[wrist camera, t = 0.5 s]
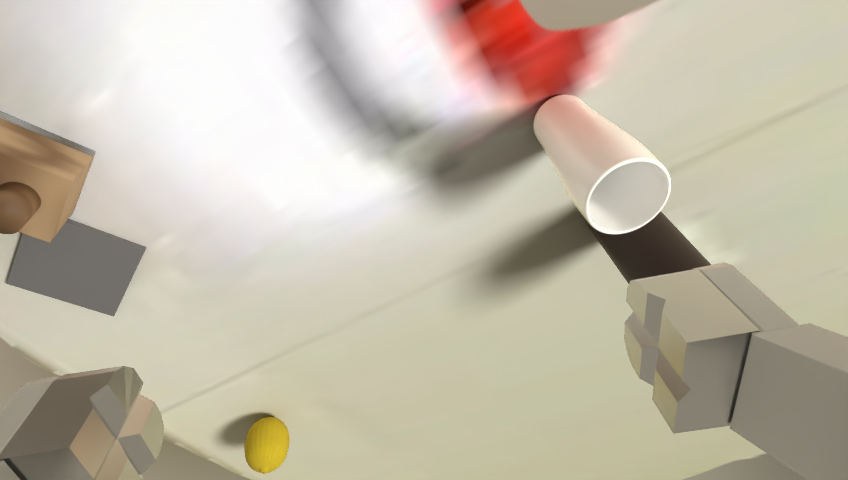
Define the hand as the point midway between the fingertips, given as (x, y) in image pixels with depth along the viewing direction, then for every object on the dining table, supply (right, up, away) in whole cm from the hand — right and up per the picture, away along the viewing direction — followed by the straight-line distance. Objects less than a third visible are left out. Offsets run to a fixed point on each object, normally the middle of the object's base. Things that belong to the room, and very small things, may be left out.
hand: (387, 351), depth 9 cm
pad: (-34, -1, +44) cm, 56 cm away
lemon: (-20, -22, +62) cm, 69 cm away
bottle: (+22, +5, +49) cm, 54 cm away
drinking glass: (+14, +14, +42) cm, 46 cm away
